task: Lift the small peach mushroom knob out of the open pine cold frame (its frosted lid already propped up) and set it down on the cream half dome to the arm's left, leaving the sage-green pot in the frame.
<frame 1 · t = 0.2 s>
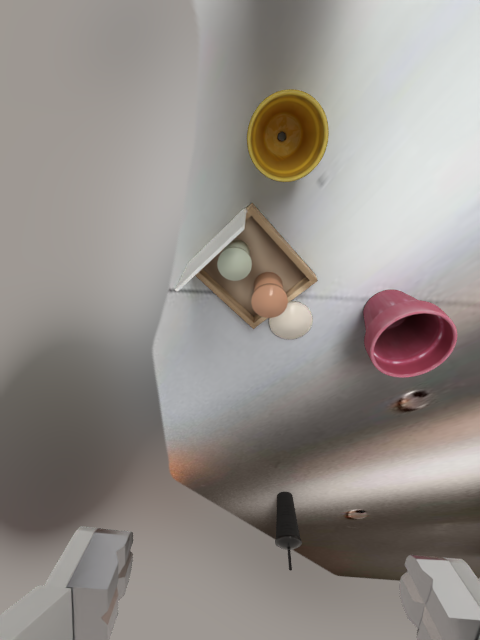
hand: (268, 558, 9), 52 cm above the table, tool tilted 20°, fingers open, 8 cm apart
propped lid: (217, 232, 56), resting on cold frame
plant pot: (386, 308, 63), on the table
cold frame: (252, 268, 60), on the table
plant pot 2: (282, 136, 48), on the table
cream half dome: (290, 319, 65), on the table
peach mushroom knob: (268, 285, 61), point 1 cm above the table, touching cold frame
sage pot: (236, 252, 58), point 1 cm above the table, touching cold frame
drinking cup: (284, 495, 102), on the table
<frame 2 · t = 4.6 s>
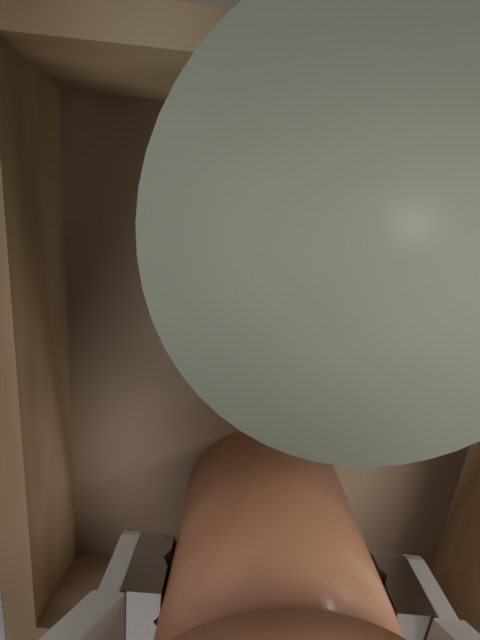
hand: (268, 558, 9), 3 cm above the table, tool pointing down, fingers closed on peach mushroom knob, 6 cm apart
cold frame: (276, 376, 11), on the table
peach mushroom knob: (263, 495, 11), point 1 cm above the table, touching cold frame, gripper
sage pot: (297, 246, 9), point 1 cm above the table, touching cold frame
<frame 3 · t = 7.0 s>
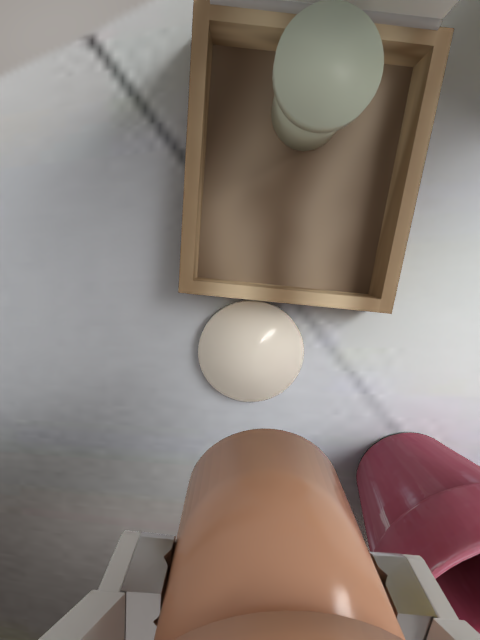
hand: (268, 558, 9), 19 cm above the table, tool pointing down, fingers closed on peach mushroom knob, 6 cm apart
propped lid: (314, 37, 22), resting on cold frame
plant pot: (401, 471, 30), on the table
cold frame: (295, 181, 24), on the table
cream half dome: (250, 350, 27), on the table
peach mushroom knob: (263, 495, 11), point 16 cm above the table, touching gripper
sage pot: (306, 112, 22), point 1 cm above the table, touching cold frame
when the fingers open (5 cm above the table, at t = 9.9 s): peach mushroom knob drops 1 cm, resting on cream half dome.
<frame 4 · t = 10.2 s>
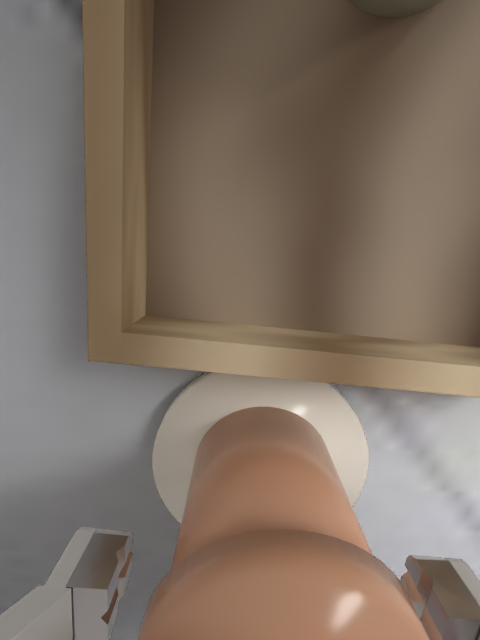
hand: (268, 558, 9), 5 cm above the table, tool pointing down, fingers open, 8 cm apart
cold frame: (364, 100, 10), on the table
cream half dome: (259, 454, 14), on the table
peach mushroom knob: (261, 467, 13), point 1 cm above the table, touching cream half dome
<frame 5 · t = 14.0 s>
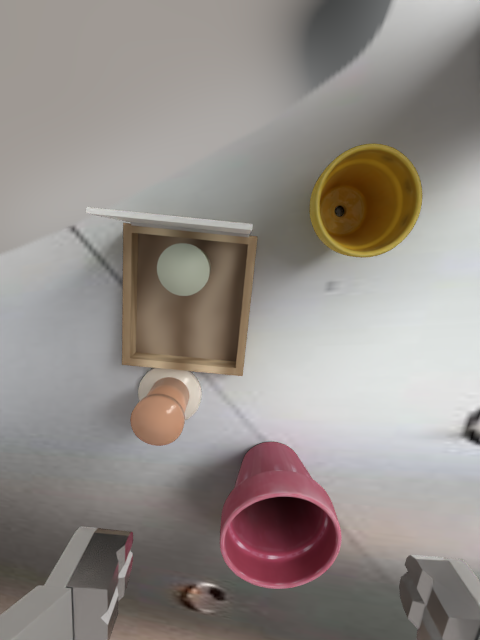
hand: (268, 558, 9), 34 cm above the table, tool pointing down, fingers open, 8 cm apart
propped lid: (194, 227, 40), resting on cold frame
plant pot: (270, 466, 48), on the table
cold frame: (190, 299, 42), on the table
plant pot 2: (338, 212, 39), on the table
cream half dome: (170, 392, 45), on the table
peach mushroom knob: (170, 395, 44), point 1 cm above the table, touching cream half dome
sage pot: (191, 266, 40), point 1 cm above the table, touching cold frame
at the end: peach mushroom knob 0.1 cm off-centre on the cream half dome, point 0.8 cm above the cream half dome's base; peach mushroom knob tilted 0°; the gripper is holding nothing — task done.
